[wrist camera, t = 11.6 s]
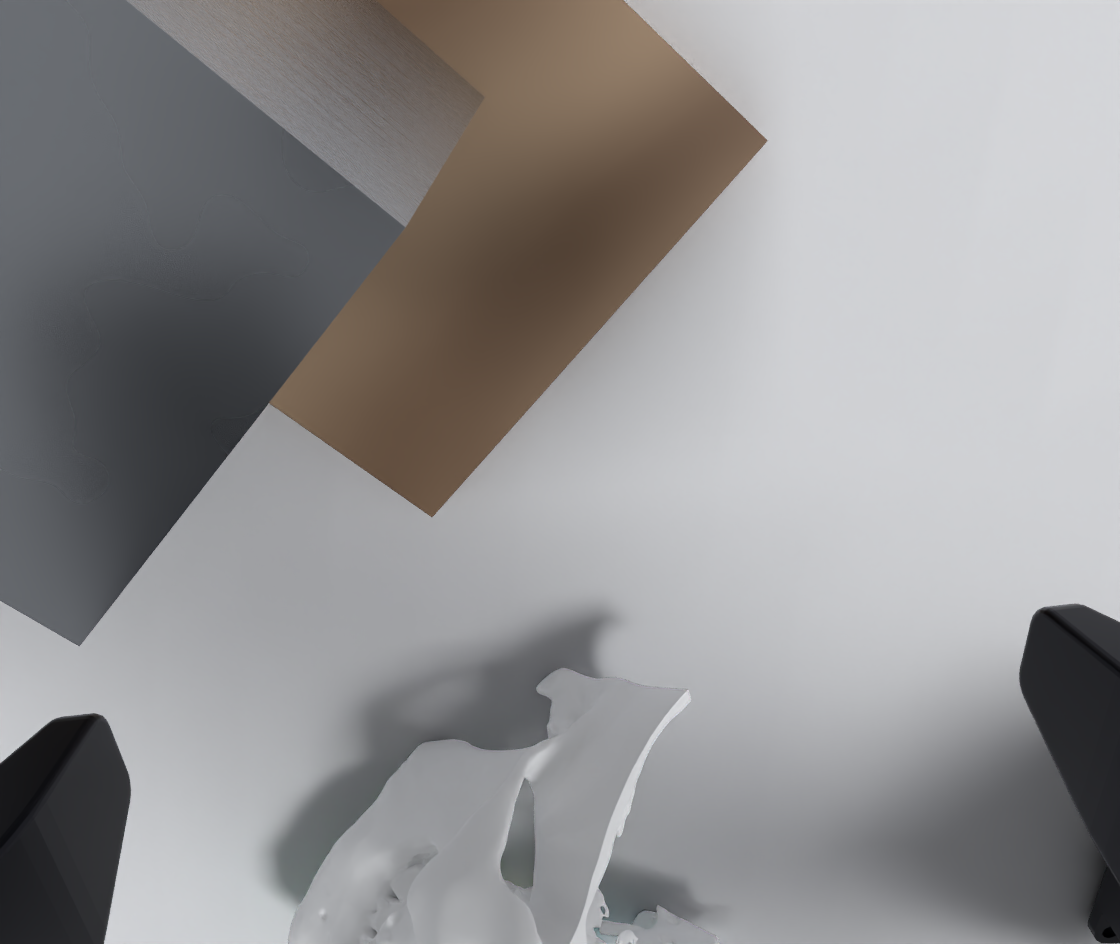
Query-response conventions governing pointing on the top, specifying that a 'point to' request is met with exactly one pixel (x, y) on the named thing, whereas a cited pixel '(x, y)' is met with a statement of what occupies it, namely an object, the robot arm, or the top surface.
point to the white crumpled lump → (501, 834)
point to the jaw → (180, 249)
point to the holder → (516, 233)
